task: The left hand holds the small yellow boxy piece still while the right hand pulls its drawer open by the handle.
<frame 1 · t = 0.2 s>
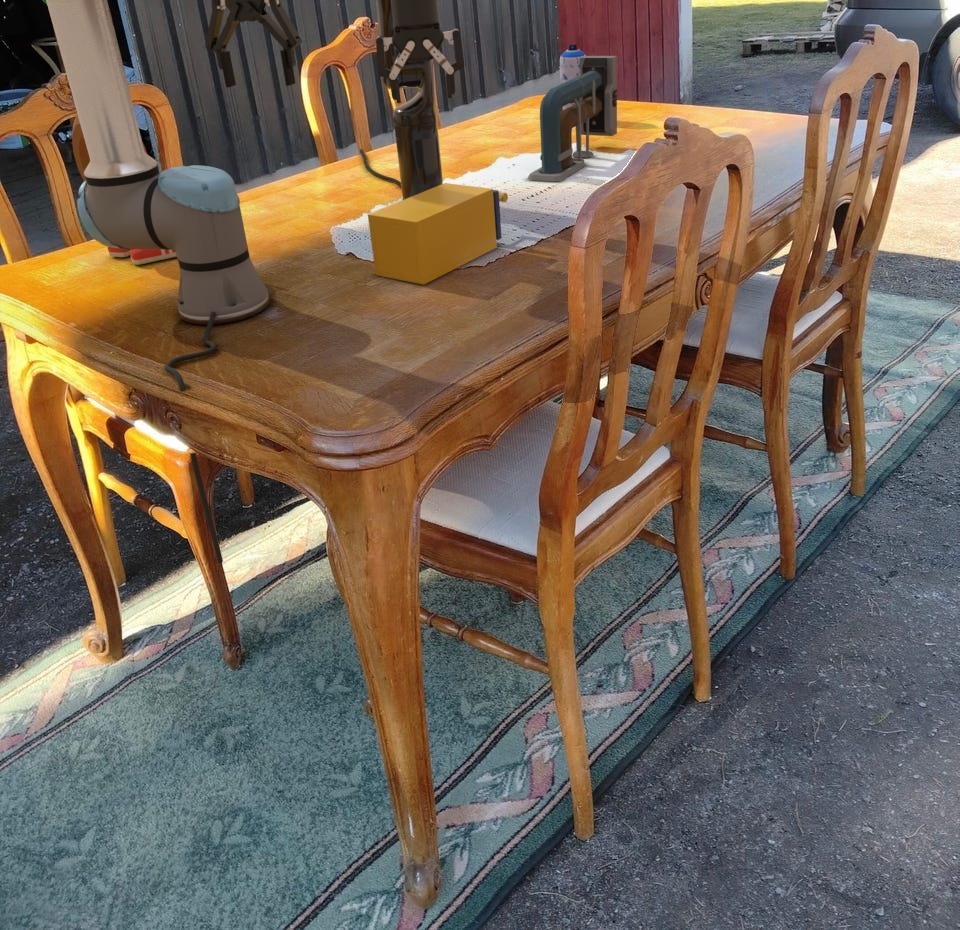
left hand: (260, 85, 196), 28 cm above the table, tool pointing down, fingers open, 13 cm apart
right hand: (424, 100, 162), 29 cm above the table, tool pointing down, fingers open, 8 cm apart
yellow boxy piece: (437, 261, 180), on the table
toy: (144, 255, 196), on the table
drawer: (455, 222, 181), point 6 cm above the table, slide at 1.3 cm
aerosol can: (574, 120, 278), on the table
clamp: (573, 162, 235), on the table
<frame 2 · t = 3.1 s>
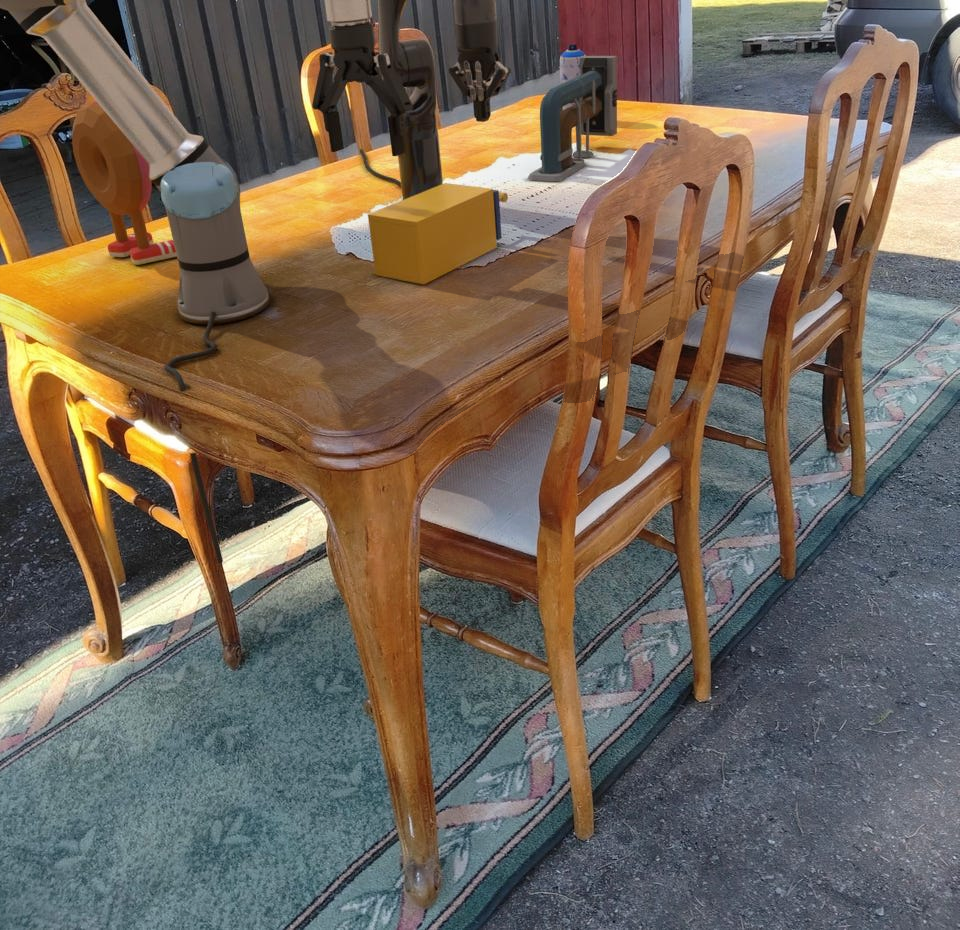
left hand: (367, 152, 172), 20 cm above the table, tool pointing down, fingers open, 13 cm apart
right hand: (482, 120, 180), 22 cm above the table, tool pointing down, fingers closed
nothing on the table moved.
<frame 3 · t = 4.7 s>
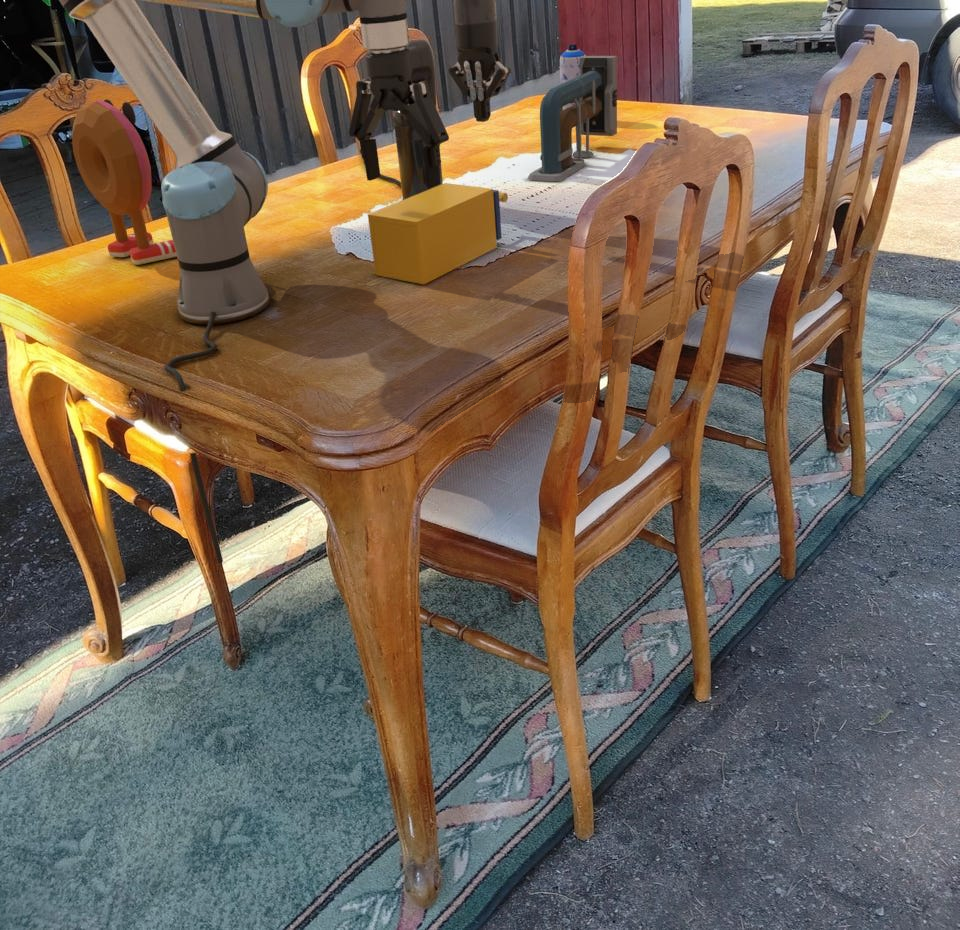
left hand: (403, 182, 166), 16 cm above the table, tool pointing down, fingers open, 13 cm apart
right hand: (482, 120, 180), 22 cm above the table, tool pointing down, fingers closed
nothing on the table moved.
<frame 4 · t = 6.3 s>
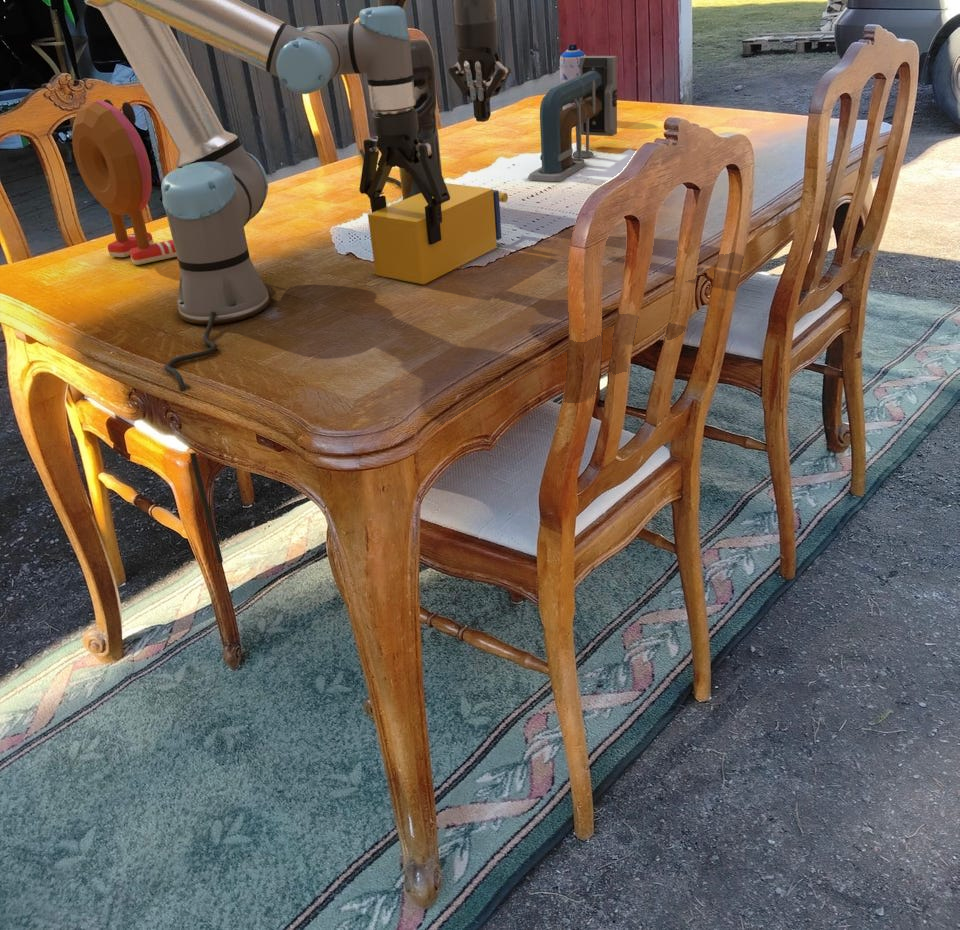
left hand: (408, 237, 171), 7 cm above the table, tool pointing down, fingers closed on yellow boxy piece, 11 cm apart
right hand: (482, 120, 180), 22 cm above the table, tool pointing down, fingers closed
yellow boxy piece: (437, 261, 180), on the table, touching left hand
everything else where it was.
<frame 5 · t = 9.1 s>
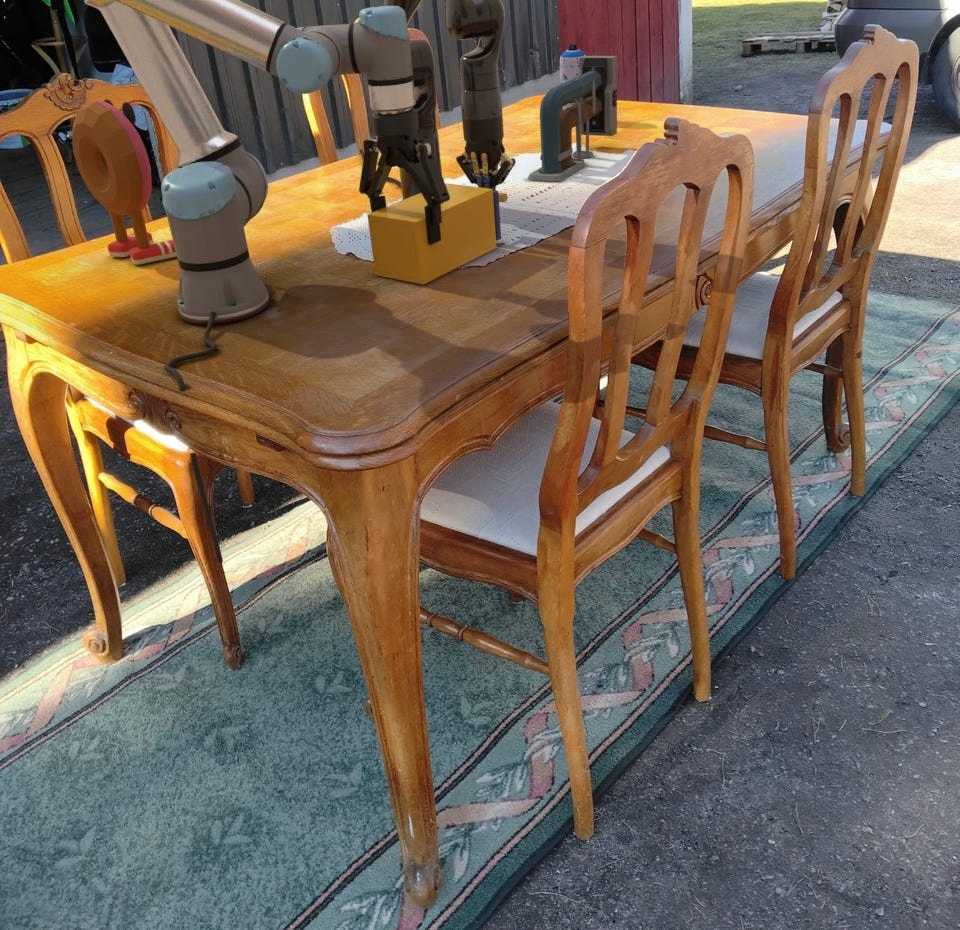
left hand: (408, 238, 171), 7 cm above the table, tool pointing down, fingers closed on yellow boxy piece, 11 cm apart
right hand: (488, 206, 188), 6 cm above the table, tool pointing down, fingers closed
yellow boxy piece: (437, 261, 180), on the table, touching left hand
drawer: (455, 222, 181), point 6 cm above the table, slide at 1.2 cm, touching right hand
everything else where it was.
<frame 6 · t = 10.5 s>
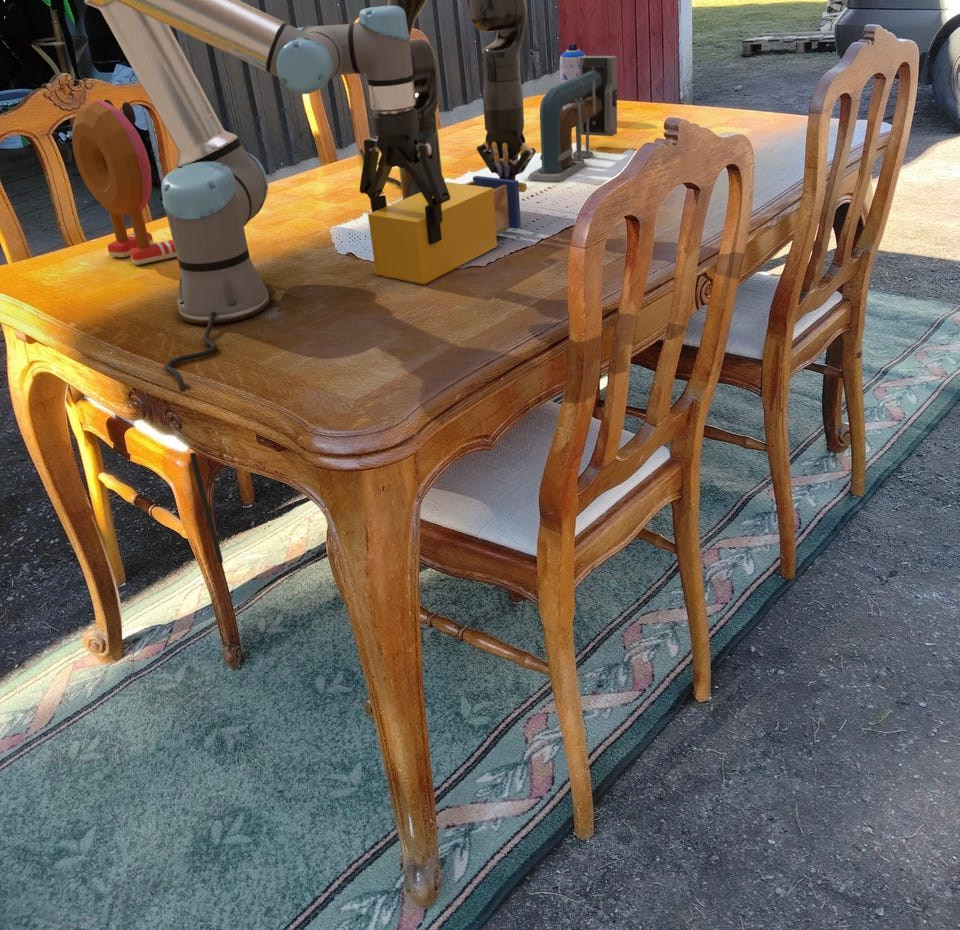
left hand: (409, 237, 172), 7 cm above the table, tool pointing down, fingers closed on yellow boxy piece, 11 cm apart
right hand: (508, 195, 192), 6 cm above the table, tool pointing down, fingers closed
yellow boxy piece: (438, 260, 180), on the table, touching left hand
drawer: (476, 211, 185), point 6 cm above the table, slide at 7.7 cm
everything else where it was.
when the left hand's fingers open (7 cm above the table, at t = 12.0 s): yellow boxy piece stays where it is, on the table.
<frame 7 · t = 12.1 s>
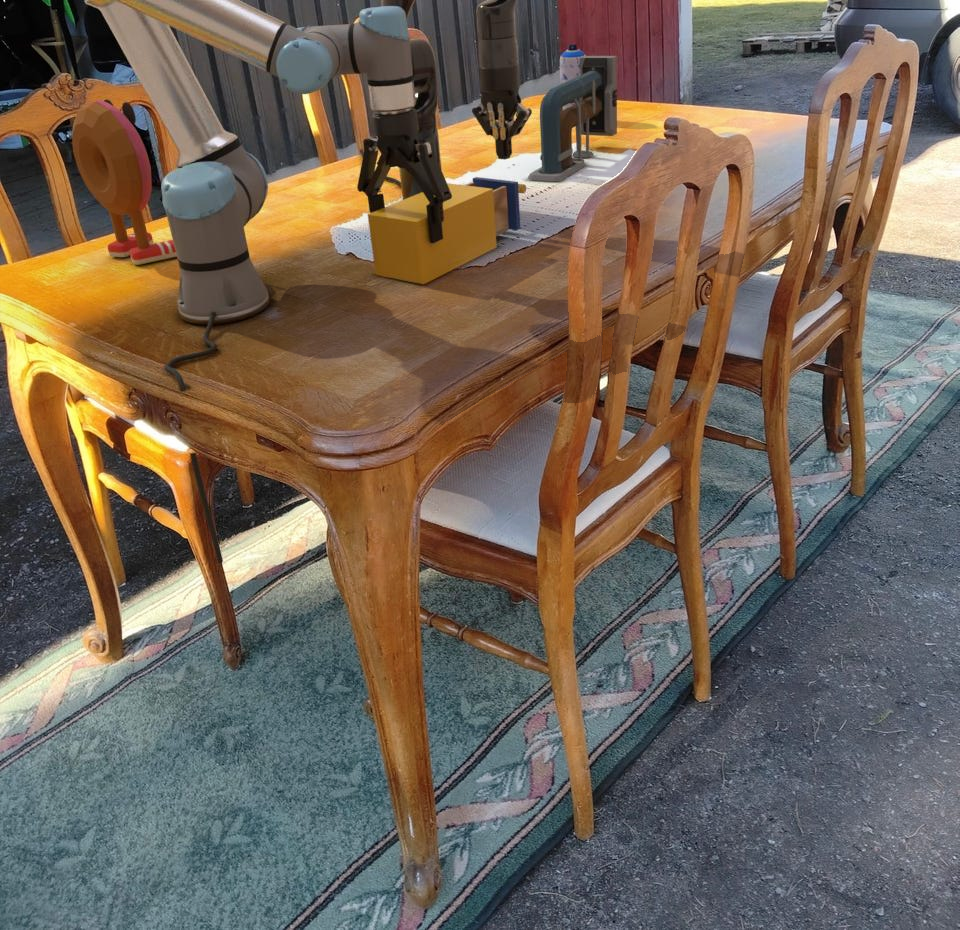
left hand: (408, 236, 171), 7 cm above the table, tool pointing down, fingers open, 12 cm apart
right hand: (504, 158, 188), 14 cm above the table, tool pointing down, fingers closed
yellow boxy piece: (437, 260, 180), on the table
everything else where it was.
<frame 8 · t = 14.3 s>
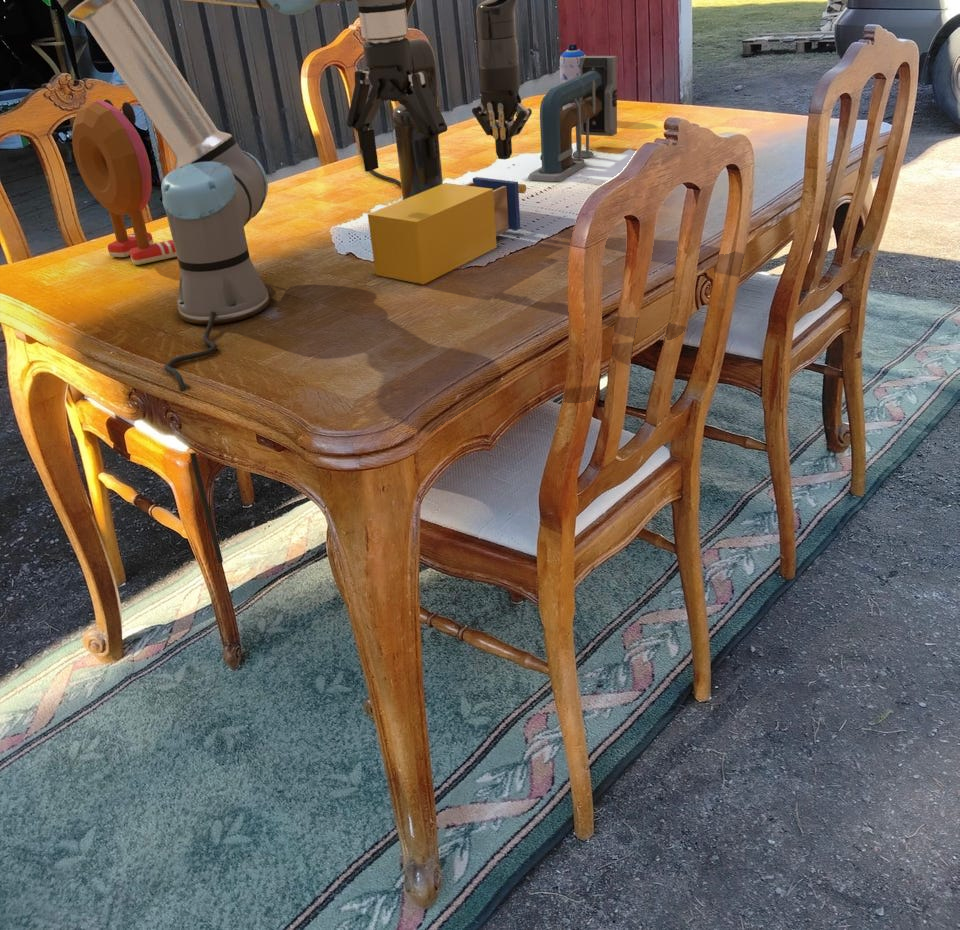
left hand: (401, 173, 166), 18 cm above the table, tool pointing down, fingers open, 13 cm apart
right hand: (504, 158, 188), 14 cm above the table, tool pointing down, fingers closed
nothing on the table moved.
at the end: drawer slide at 7.7 cm; yellow boxy piece tilted 0°; yellow boxy piece never tilted more than 1° during the clip; yellow boxy piece moved 0.1 cm from its start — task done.
